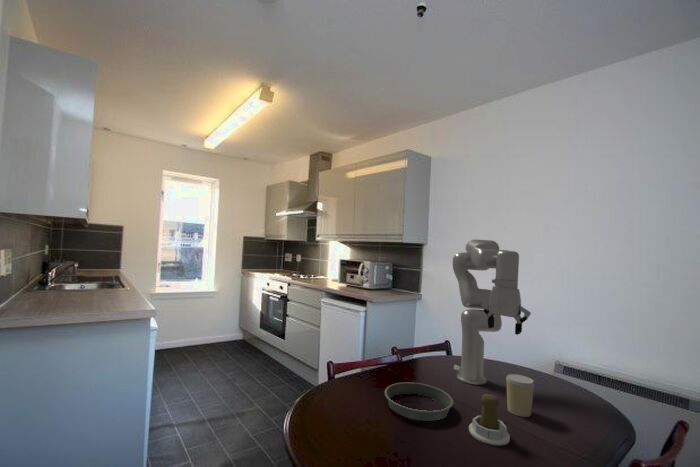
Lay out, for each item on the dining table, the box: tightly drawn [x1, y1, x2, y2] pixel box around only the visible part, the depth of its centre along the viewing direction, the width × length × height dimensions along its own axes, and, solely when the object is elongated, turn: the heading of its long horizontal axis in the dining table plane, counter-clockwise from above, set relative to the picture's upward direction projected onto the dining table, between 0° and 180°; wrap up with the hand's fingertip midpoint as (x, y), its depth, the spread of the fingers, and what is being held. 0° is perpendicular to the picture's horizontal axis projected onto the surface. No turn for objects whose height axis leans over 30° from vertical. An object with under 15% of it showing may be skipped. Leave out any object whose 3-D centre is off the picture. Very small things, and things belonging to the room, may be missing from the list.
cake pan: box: [384, 381, 454, 421], centre depth 122 cm, size 25×25×4 cm
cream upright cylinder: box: [505, 373, 535, 418], centre depth 123 cm, size 9×9×12 cm
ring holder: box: [468, 414, 511, 447], centre depth 106 cm, size 12×12×4 cm
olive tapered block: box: [479, 393, 500, 430], centre depth 106 cm, size 6×6×11 cm
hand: (504, 330), depth 123 cm, fingers open, 9 cm apart
